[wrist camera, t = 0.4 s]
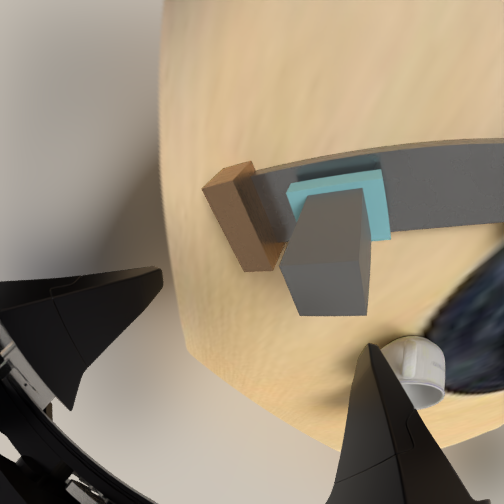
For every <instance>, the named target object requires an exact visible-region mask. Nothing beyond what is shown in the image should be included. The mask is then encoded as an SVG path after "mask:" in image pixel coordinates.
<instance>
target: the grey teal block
mask: <svg viewBox="0 0 504 504" xmlns="http://www.w3.org/2000/svg"><path fill="white" fill-rule="evenodd" d="M286 194H287V197H288V200H289V203H290V205H291V208H292V211H293V214H294V217H295V219H296V222H297V223H296V226H295V228H294V231H293V233H292V236H291V238H290V241H289V243H288V246H287V248H286V250H285V253H284V255H283V258H282V260H281V263H280V265H279V267H280V269H281V272H282V274H283V276H284V279H285V281H286V284H287V286H288V288H289V291H290V293H291V296H292V298H293V301H294V303H295V305H296V308H297V310H298V313H299V315H300V316H367V306H368V295H369V281H370V262H371V241H380V240H391V235H390V224H389V216H388V208H387V201H386V195H385V188H384V182H383V177H382V171H381V169H379V170H371V171H364V172H357V173H350V174H343V175H337V176H330V177H324V178H318V179H312V180H307V181H301V182H295V183H291V184H290V186H289V188H288V190H287V192H286Z"/></svg>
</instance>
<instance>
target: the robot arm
mask: <svg viewBox="0 0 504 504" xmlns="http://www.w3.org/2000/svg"><path fill="white" fill-rule="evenodd" d="M162 287H163V275H162V270H161V269H160V268H158V267H155V266H151V267H143V268H135V269H128V270H120V271H112V272H105V273H97V274H89V275H83V276H72V277H63V278H50V279H34V280H18V281H4V282H3V281H1V282H0V432H1V433H3V434H5V435H6V436H7V437H8V439H9V440H10V441H11V443H12V444H13V446H14V447H15V448H16V449H17V451H18V452H19V453H20V455H21V457H20V458H19V460H18V461H17V462H16V463H15V462H13V461H11V460H9V459H7V458H6V457H4V456H2V455H1V454H0V504H157V503H156V502H155V501H153V500H151V499H149V498H148V497H146V496H144V495H143V494H141V493H139V492H138V491H136V490H135V489H133V488H131V487H130V486H129V485H127V484H126V483H124V482H123V481H121V480H120V479H118V478H117V477H116V476H114V475H113V474H112V473H110V472H109V471H107V470H106V469H105V468H104V467H102V466H101V465H100V464H98V463H97V462H96V461H95V460H94V459H92V458H91V457H90V456H89V455H88V454H86V453H85V452H84V451H83V450H82V449H81V448H80V447H79V446H77V445H76V444H75V443H74V442H73V441H72V440H71V439H70V438H69V437H68V436H67V435H66V434H64V433H63V431H62V430H61V429H60V428H59V427H58V426H57V425H56V424H55V423H54V422H53V419H52V403H51V401H52V400H53V399H54V397H56V398H57V399H58V400H59V401H61V403H62V404H63V405H64V406H66V407H67V409H69V410H70V411H72V409H73V406H74V402H75V398H76V394H77V391H78V387H79V384H80V381H81V378H82V375H83V373H84V372H85V370H86V369H87V367H89V366H90V365H91V364H92V363H93V362H94V361H95V360H96V358H98V357H99V356H100V355H101V353H102V352H103V351H104V350H105V349H106V348H107V347H108V346H109V345H110V344H111V343H112V342H113V341H114V340H115V339H116V338H117V337H118V336H119V335H120V334H121V333H122V332H123V331H124V330H125V329H126V328H127V327H128V326H129V325H130V324H131V323H132V322H133V321H134V320H135V319H136V318H137V317H138V316H139V315H140V314H141V313H142V312H143V311H144V310H145V309H146V308H147V307H148V305H149V304H150V303H151V301H152V300H153V299H154V298H155V297H156V295H157V294H158V293H159V292H160V290H161V289H162ZM71 474H74V475H75V476H77V477H78V478H79V480H80V481H81V482H83V483H85V484H86V485H88V486H89V487H87V486H85V485H83V484H82V483H80V482H78V481H75V480H72V479H71V480H69V479H68V478H69V477H70V475H71ZM91 490H92V491H94V492H96V493H98V494H99V495H96V494H94V493H92V492H91ZM326 504H491V502H490V500H489V499H485V500H481V501H475V500H474V499H472V497H471V496H470V494H469V493H468V491H467V489H466V488H465V486H464V485H463V483H462V481H461V480H460V478H459V477H458V475H457V473H456V472H455V470H454V469H453V467H452V466H451V464H450V462H449V461H448V459H447V458H446V456H445V455H444V453H443V452H442V450H441V449H440V447H439V446H438V444H437V443H436V441H435V440H434V438H433V437H432V435H431V433H430V432H429V430H428V429H427V427H426V426H425V424H424V422H423V421H422V419H421V417H420V415H419V414H418V412H417V410H416V409H414V405H413V404H412V402H411V400H410V398H409V397H408V395H407V393H406V391H405V390H404V388H403V386H402V385H401V383H400V381H399V380H398V378H397V376H396V375H395V373H394V371H393V370H392V368H391V366H390V365H389V363H388V361H387V360H386V358H385V356H384V355H383V353H382V352H381V350H380V348H379V347H378V346H377V345H375V344H371V343H368V344H367V345H366V347H365V348H364V350H363V351H362V353H361V354H360V356H359V359H358V362H357V366H356V370H355V375H354V379H353V383H352V387H351V392H350V399H349V407H348V414H347V421H346V427H345V433H344V439H343V444H342V450H341V455H340V460H339V464H338V469H337V473H336V478H335V482H334V486H333V489H332V492H331V495H330V497H329V498H328V500H327V502H326Z"/></svg>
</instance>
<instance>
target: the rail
mask: <svg viewBox="0 0 504 504" xmlns="http://www.w3.org/2000/svg"><path fill="white" fill-rule="evenodd" d="M379 169H381V171H382V177H383V182H384V188H385V195H386V201H387V208H388V216H389V224H390V232H395V231H406V230H417V229H429V228H440V227H452V226H463V225H475V224H487V223H499V222H504V138H494V139H461V140H444V141H431V142H420V143H410V144H401V145H393V146H385V147H377V148H370V149H363V150H357V151H351V152H345V153H339V154H333V155H327V156H322V157H317V158H312V159H307V160H302V161H297V162H292V163H287V164H283V165H278V166H274V167H270V168H265V169H261V170H257V171H255V168H254V166H253V164H252V161H248V162H245V163H241V164H237V165H234V166H230V167H227V168H223V169H222V170H221V171H220V172H219V173H218V174H217V175H215V176H214V177H213V178H212V179H211V180H210V181H209V182H208V183H207V184H206V185H205V186H204V187H203V188H202V191H203V193H204V195H205V197H206V199H207V201H208V203H209V205H210V207H211V209H212V210H213V212H214V214H215V216H216V218H217V220H218V222H219V224H220V226H221V228H222V230H223V232H224V234H225V236H226V238H227V240H228V242H229V244H230V245H231V247H232V249H233V251H234V253H235V255H236V257H237V259H238V261H239V263H240V265H241V267H242V268H243V270H244V272H255V271H273V269H274V267H275V265H276V262H277V260H278V258H279V255H280V253H281V251H282V248H283V246H284V244H285V243H284V242H289V241H290V238H291V236H292V233H293V231H294V228H295V226H296V223H297V222H296V219H295V217H294V214H293V211H292V208H291V205H290V203H289V200H288V197H287V194H286V192H287V190H288V188H289V186H290V184H291V183H295V182H301V181H307V180H312V179H318V178H324V177H330V176H337V175H343V174H350V173H357V172H364V171H371V170H379Z"/></svg>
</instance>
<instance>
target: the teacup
mask: <svg viewBox="0 0 504 504" xmlns="http://www.w3.org/2000/svg"><path fill="white" fill-rule="evenodd" d="M381 352H382V353H383V355H384V356H385V358H386V360H387V361H388V363H389V365H390V366H391V368H392V370H393V371H394V373H395V375H396V376H397V378H398V380H399V381H400V383H401V385H402V386H403V388H404V390H405V391H406V393H407V395H408V397H409V398H410V400H411V402H412V404H413V405H414V409H416V410H419V409H424V408H427V407H431V406H433V405H436V404H438V403H439V402H440V401H442V400H443V398H444V396H445V392H444V385H445V359H444V355H443V352H442V351H441V349H440V348H439V347H438V346H437V345H436V344H434V343H432V342H431V341H430V340H428V339H426V338H423V337H419V336H407V337H402V338H399V339H396V340H394V341H392V342H391V343H389V344H387V345H386V346H384V347H383V348H382V349H381Z"/></svg>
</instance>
